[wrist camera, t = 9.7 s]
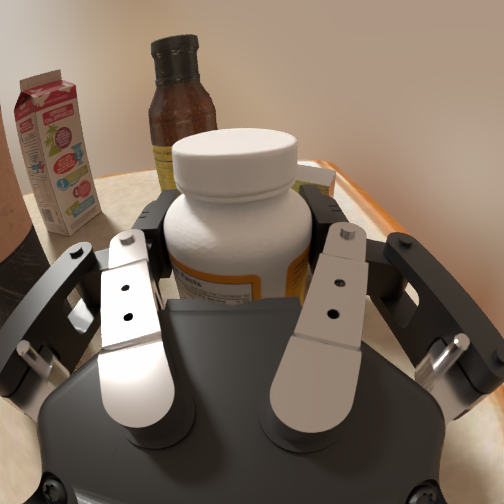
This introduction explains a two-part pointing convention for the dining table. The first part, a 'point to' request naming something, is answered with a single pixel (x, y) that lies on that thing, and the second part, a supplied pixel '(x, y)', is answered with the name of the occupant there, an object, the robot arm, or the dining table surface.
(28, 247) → the travel mug
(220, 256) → the supplement bottle
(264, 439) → the robot arm
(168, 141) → the sauce bottle
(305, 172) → the silver rectangular block
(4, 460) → the dining table surface
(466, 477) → the dining table surface
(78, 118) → the juice carton
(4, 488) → the dining table surface
